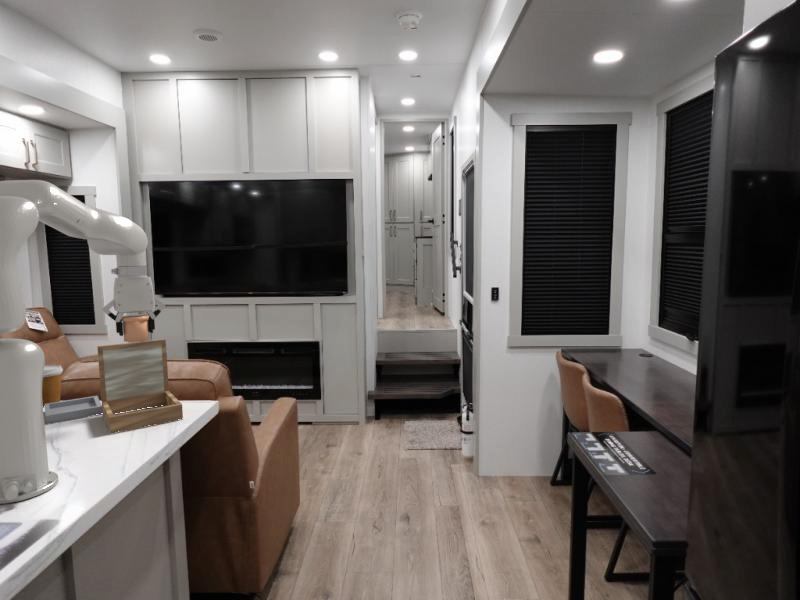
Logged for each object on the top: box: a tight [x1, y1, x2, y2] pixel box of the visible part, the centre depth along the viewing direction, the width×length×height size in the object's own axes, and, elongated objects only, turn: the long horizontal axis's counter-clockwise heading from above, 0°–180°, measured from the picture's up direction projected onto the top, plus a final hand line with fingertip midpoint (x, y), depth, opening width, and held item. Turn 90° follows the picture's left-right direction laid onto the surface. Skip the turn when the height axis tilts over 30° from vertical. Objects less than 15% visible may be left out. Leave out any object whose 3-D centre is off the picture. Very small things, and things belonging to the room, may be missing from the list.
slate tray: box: [44, 395, 102, 425], centre depth 152 cm, size 14×14×2 cm
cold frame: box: [97, 338, 184, 434], centre depth 146 cm, size 19×18×21 cm
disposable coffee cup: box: [42, 364, 64, 406], centre depth 161 cm, size 10×10×12 cm
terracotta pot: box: [121, 313, 150, 343], centre depth 144 cm, size 7×7×7 cm
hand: (136, 333), depth 144 cm, fingers closed on terracotta pot, 7 cm apart
